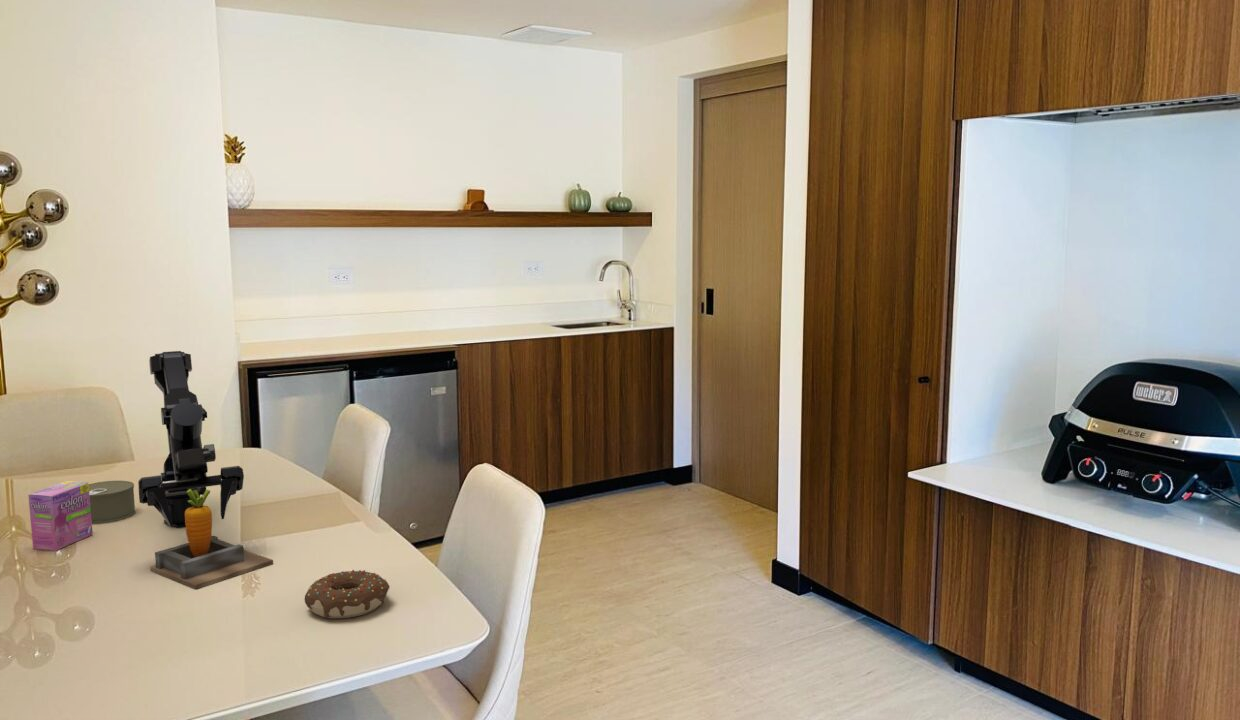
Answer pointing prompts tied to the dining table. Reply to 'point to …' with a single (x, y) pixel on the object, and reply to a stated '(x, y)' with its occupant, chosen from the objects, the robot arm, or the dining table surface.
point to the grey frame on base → (206, 563)
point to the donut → (346, 594)
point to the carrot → (198, 524)
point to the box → (60, 515)
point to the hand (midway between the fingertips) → (197, 521)
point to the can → (111, 501)
